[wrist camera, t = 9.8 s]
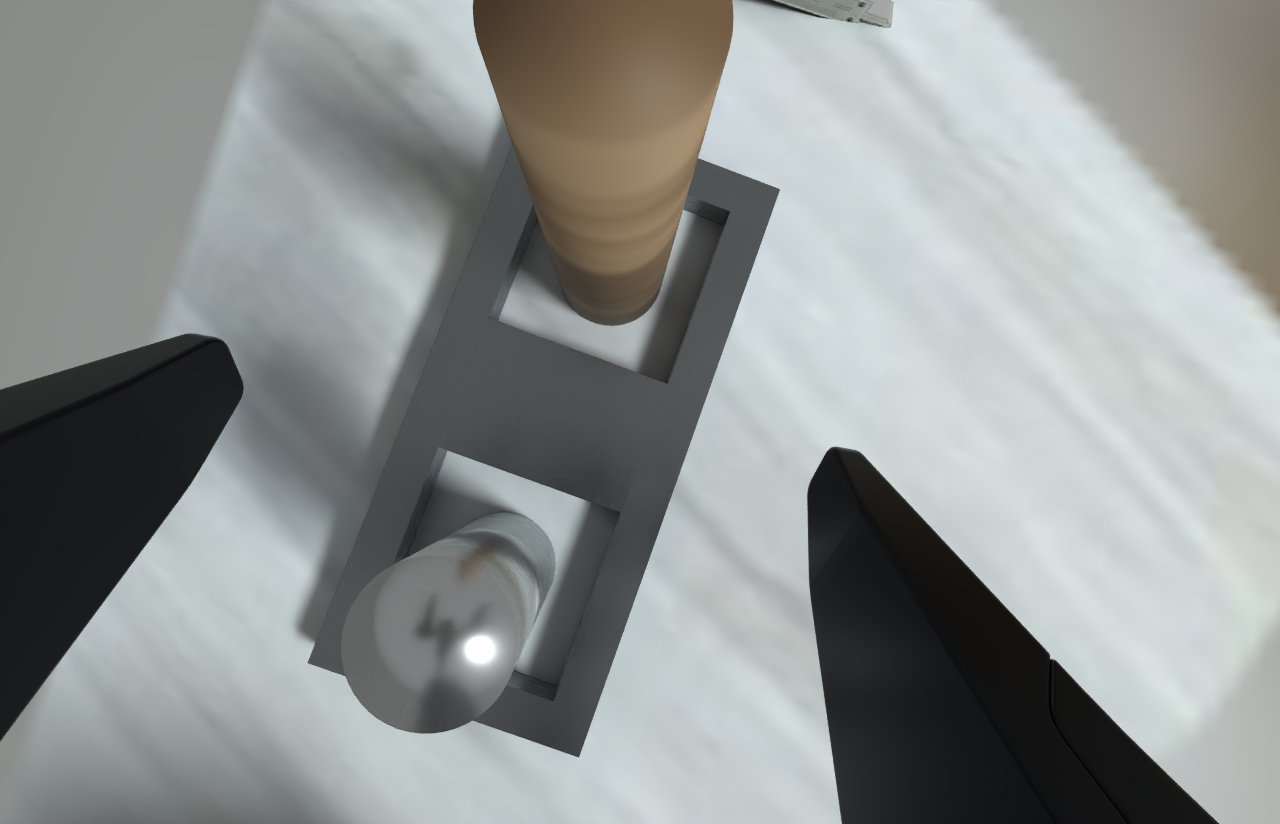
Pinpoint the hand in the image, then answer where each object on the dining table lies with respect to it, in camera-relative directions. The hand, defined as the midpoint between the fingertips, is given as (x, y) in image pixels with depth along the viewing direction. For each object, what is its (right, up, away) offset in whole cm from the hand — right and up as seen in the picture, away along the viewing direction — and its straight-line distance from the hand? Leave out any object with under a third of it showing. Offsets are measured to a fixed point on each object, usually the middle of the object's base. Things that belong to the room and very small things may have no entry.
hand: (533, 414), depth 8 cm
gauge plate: (-2, 0, +13) cm, 13 cm away
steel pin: (-4, -6, +12) cm, 14 cm away
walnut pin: (+1, +5, +13) cm, 14 cm away
